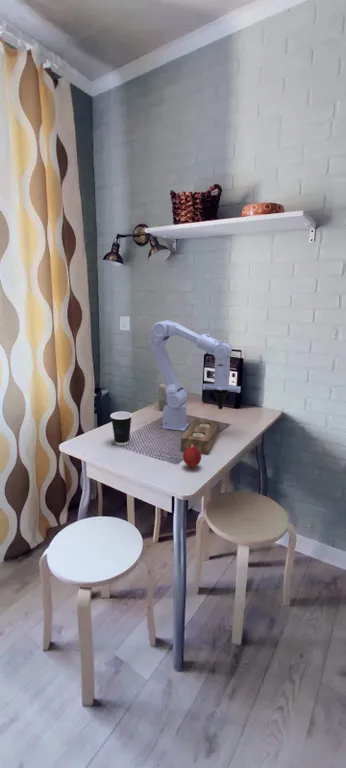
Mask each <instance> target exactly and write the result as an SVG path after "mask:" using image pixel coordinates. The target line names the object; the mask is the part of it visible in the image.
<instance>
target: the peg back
mask: <svg viewBox="0 0 346 768" xmlns="http://www.w3.org/2000/svg"><path fill="white" fill-rule="evenodd" d="M199 427H208V428H209V427H210V425H209V424H205V423H203V424H200V425H199Z"/></svg>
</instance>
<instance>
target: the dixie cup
mask: <svg viewBox="0 0 346 768" xmlns="http://www.w3.org/2000/svg"><path fill="white" fill-rule="evenodd" d="M132 416H133V414H132V413H131V412H128V411H116V412H112V413H111V414H110V416H109V417H110V419H111V424H112V430H113V431H112V432H113V436H114V437H113V438H114V441H115V445H117V446H127V445H128V444H129V441H130V439H131V438H130V436H131V425H132Z"/></svg>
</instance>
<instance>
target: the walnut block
mask: <svg viewBox="0 0 346 768" xmlns="http://www.w3.org/2000/svg"><path fill="white" fill-rule="evenodd" d="M203 423H205V424H209V425H210V427H209V428H208V427H199V425H200V424H203ZM220 424H221V422H220V421H216V420H215V421H214V420H207V419H205V420H203V419H196V418H195V419H193V422H191V424H189V427H187V428H186V431H185V432H184V433H183V434H182V436H181V438H180V451H181V452H185V451H186V449H188V448H189V447H190V445H193V446H194V447H196V448H197V449H198V450H199V451H200V453H201V455H210V453H211V451H212V449H213V447H214V445H215V443H216V441H217V439H218V438H219V436H220V430H221V429H220V427H221V426H220ZM194 433H202V434H204V437H195V436H193V434H194Z"/></svg>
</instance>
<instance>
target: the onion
mask: <svg viewBox="0 0 346 768" xmlns="http://www.w3.org/2000/svg"><path fill="white" fill-rule="evenodd" d="M182 457H183V458H182V459H183V462H184V463H185V464H186V465H187V466H189V468H190V469H192V468H195V467H196V466H198V465H199V464H200V463H201V461H202V454H201V453H200V451H199V450H198V449H197V448H196V447H194V446H193V445H190V447H189V448H188V449H186V451H183V454H182Z"/></svg>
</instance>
